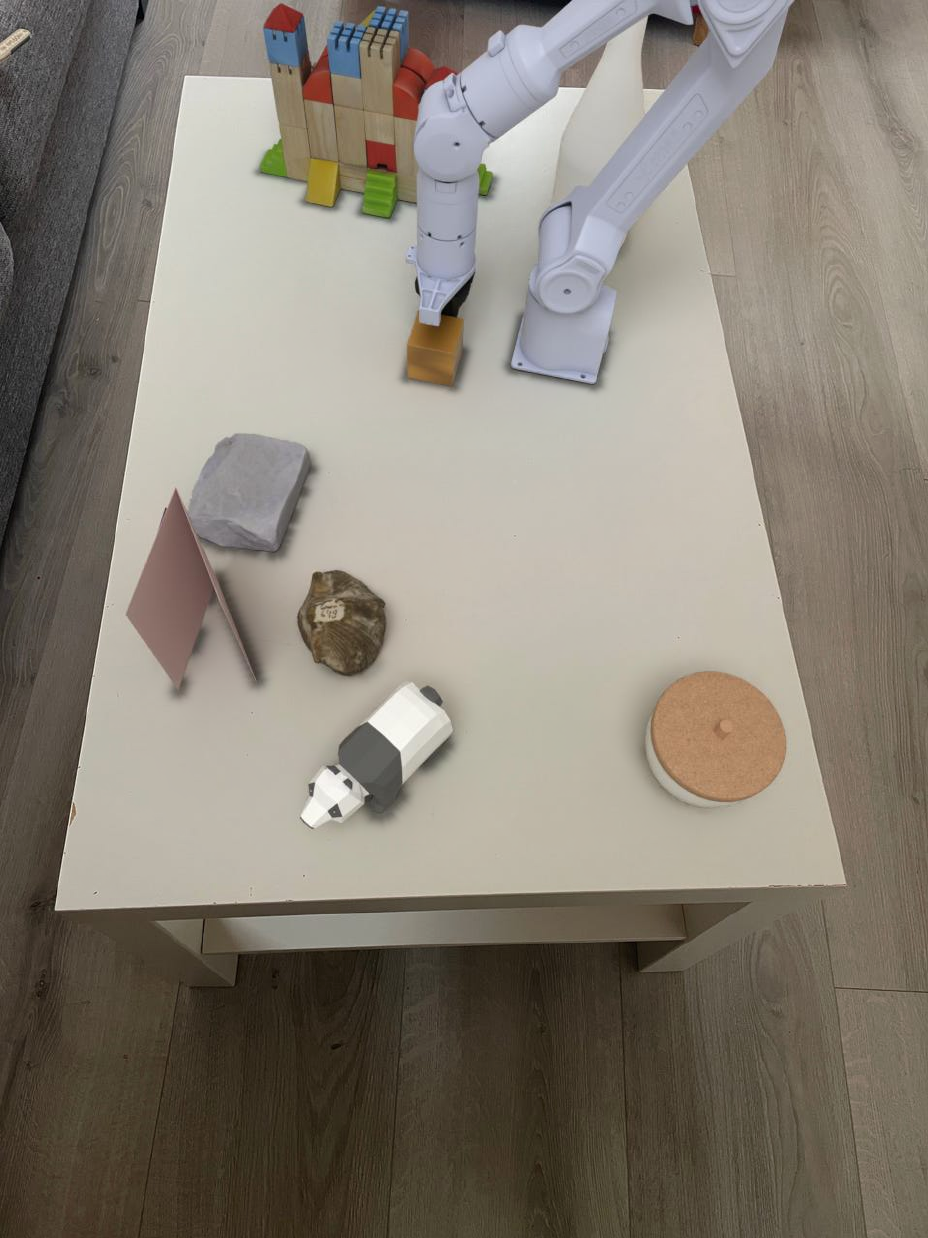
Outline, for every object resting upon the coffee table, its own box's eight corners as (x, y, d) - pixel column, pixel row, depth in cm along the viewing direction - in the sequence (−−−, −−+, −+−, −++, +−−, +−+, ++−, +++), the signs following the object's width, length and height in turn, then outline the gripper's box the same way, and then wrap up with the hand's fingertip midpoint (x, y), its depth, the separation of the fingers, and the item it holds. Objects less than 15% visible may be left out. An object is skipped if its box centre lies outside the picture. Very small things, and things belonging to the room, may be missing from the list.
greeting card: (207, 577, 81) (164, 485, 67) (284, 591, 80) (256, 500, 67) (168, 688, 76) (113, 612, 62) (250, 703, 75) (212, 629, 62)
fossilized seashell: (304, 562, 79) (277, 665, 76) (332, 545, 73) (304, 656, 71) (375, 588, 82) (352, 688, 80) (407, 575, 77) (383, 681, 74)
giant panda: (412, 698, 76) (411, 655, 68) (458, 738, 75) (463, 699, 66) (291, 819, 71) (273, 788, 62) (338, 865, 69) (325, 840, 61)
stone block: (192, 549, 84) (285, 558, 82) (170, 520, 80) (268, 528, 77) (232, 457, 89) (321, 463, 87) (214, 425, 85) (306, 430, 83)
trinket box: (622, 707, 77) (646, 666, 68) (738, 700, 77) (776, 658, 69) (643, 827, 72) (672, 799, 63) (766, 817, 73) (811, 788, 64)
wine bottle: (530, 232, 103) (568, -51, 76) (584, 199, 106) (639, -85, 80) (586, 276, 101) (646, -3, 74) (640, 240, 104) (716, -40, 77)
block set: (498, 161, 109) (512, -4, 92) (473, 235, 103) (483, 73, 85) (286, 121, 111) (261, -49, 93) (249, 191, 104) (215, 23, 87)
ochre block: (462, 352, 94) (464, 318, 90) (452, 386, 92) (453, 353, 88) (418, 343, 95) (418, 309, 90) (407, 377, 92) (406, 344, 88)
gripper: (424, 164, 85) (423, 274, 97) (386, 264, 78) (391, 369, 91) (493, 177, 84) (484, 286, 97) (461, 279, 78) (456, 382, 90)
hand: (443, 327), depth 94 cm, fingers closed
